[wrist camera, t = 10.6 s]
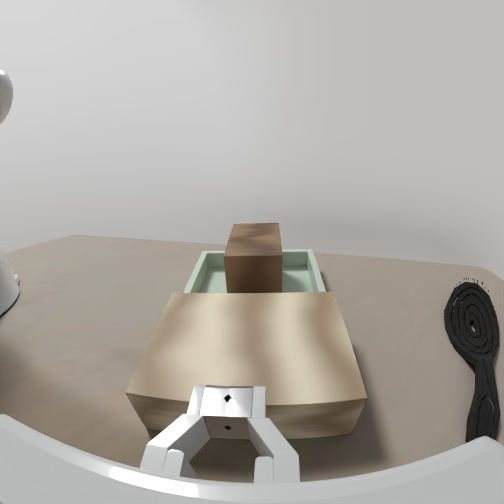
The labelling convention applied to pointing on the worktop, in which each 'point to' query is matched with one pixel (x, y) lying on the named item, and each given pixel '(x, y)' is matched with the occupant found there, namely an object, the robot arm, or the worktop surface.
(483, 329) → the hairbrush
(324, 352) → the birch stand
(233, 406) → the robot arm
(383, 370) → the worktop surface
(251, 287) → the walnut block
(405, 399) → the worktop surface
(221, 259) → the tray
